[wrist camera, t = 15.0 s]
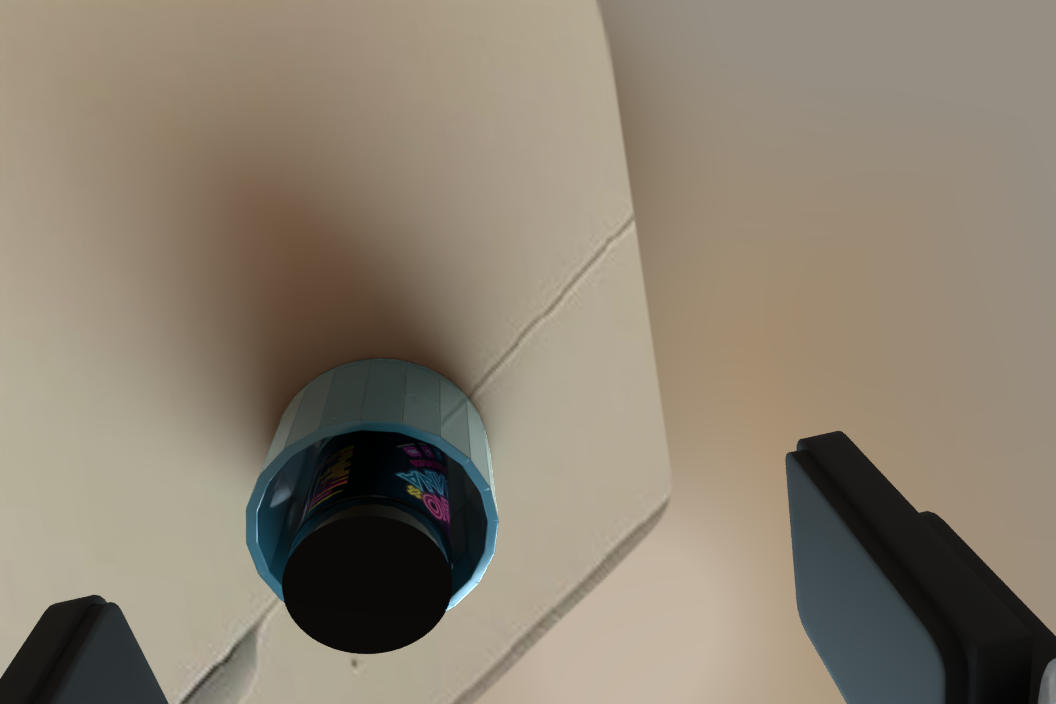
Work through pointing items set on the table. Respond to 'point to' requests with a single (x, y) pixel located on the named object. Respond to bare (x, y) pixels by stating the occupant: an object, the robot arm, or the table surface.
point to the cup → (390, 406)
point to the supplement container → (372, 543)
